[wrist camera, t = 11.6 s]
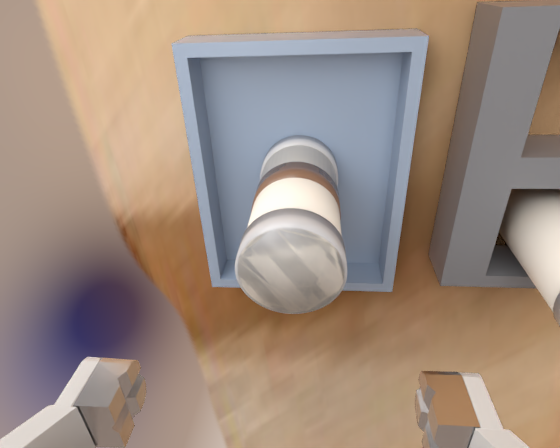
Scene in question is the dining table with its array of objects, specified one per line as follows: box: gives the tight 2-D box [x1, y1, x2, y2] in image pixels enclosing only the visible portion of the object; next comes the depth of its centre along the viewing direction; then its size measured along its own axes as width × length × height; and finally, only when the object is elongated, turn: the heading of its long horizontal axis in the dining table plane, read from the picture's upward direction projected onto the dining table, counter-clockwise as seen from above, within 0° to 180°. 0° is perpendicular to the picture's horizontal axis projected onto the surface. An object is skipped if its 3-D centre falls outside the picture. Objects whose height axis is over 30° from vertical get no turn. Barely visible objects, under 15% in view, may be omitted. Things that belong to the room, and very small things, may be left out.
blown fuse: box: [235, 135, 347, 314], centre depth 19 cm, size 4×4×9 cm
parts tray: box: [172, 29, 429, 292], centre depth 22 cm, size 14×11×2 cm
